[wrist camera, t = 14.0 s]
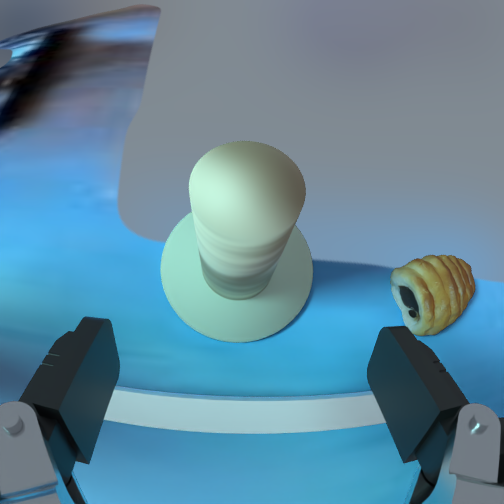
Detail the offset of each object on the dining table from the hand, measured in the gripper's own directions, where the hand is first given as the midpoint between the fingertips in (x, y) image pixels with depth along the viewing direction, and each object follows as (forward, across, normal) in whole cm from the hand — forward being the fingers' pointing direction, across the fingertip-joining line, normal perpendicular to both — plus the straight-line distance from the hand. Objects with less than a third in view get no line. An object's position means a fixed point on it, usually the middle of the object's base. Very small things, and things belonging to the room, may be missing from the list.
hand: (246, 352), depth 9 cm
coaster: (+16, 0, +5) cm, 17 cm away
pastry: (+15, -17, +6) cm, 24 cm away
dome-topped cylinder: (+15, 0, +4) cm, 16 cm away
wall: (+8, 0, +12) cm, 15 cm away
